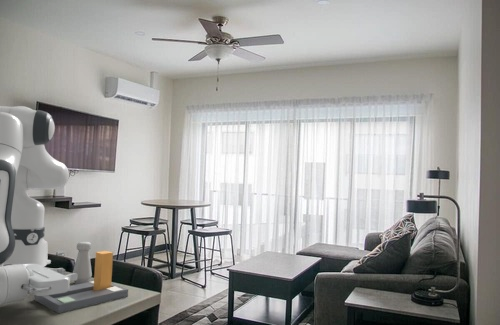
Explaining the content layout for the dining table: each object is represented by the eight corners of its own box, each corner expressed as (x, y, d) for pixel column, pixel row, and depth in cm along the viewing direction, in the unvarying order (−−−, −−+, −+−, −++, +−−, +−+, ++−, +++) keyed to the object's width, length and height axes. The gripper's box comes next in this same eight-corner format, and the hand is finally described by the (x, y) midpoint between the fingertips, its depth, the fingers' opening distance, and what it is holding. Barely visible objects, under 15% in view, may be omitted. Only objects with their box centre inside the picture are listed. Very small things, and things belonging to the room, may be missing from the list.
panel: (34, 299, 104) (34, 291, 104) (101, 285, 120) (102, 278, 120) (58, 313, 95) (58, 304, 95) (127, 296, 111) (128, 288, 111)
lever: (93, 289, 112) (95, 252, 112) (104, 287, 114) (106, 250, 115) (99, 292, 110) (102, 254, 110) (110, 290, 112) (113, 252, 113)
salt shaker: (83, 286, 118) (86, 244, 119) (67, 284, 119) (70, 242, 120) (94, 281, 124) (97, 241, 124) (79, 279, 125) (82, 240, 126)
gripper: (33, 278, 87) (90, 269, 98) (0, 262, 100) (54, 256, 111) (31, 306, 87) (88, 293, 98) (-2, 287, 100) (52, 277, 111)
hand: (70, 273), depth 104 cm, fingers open, 5 cm apart
